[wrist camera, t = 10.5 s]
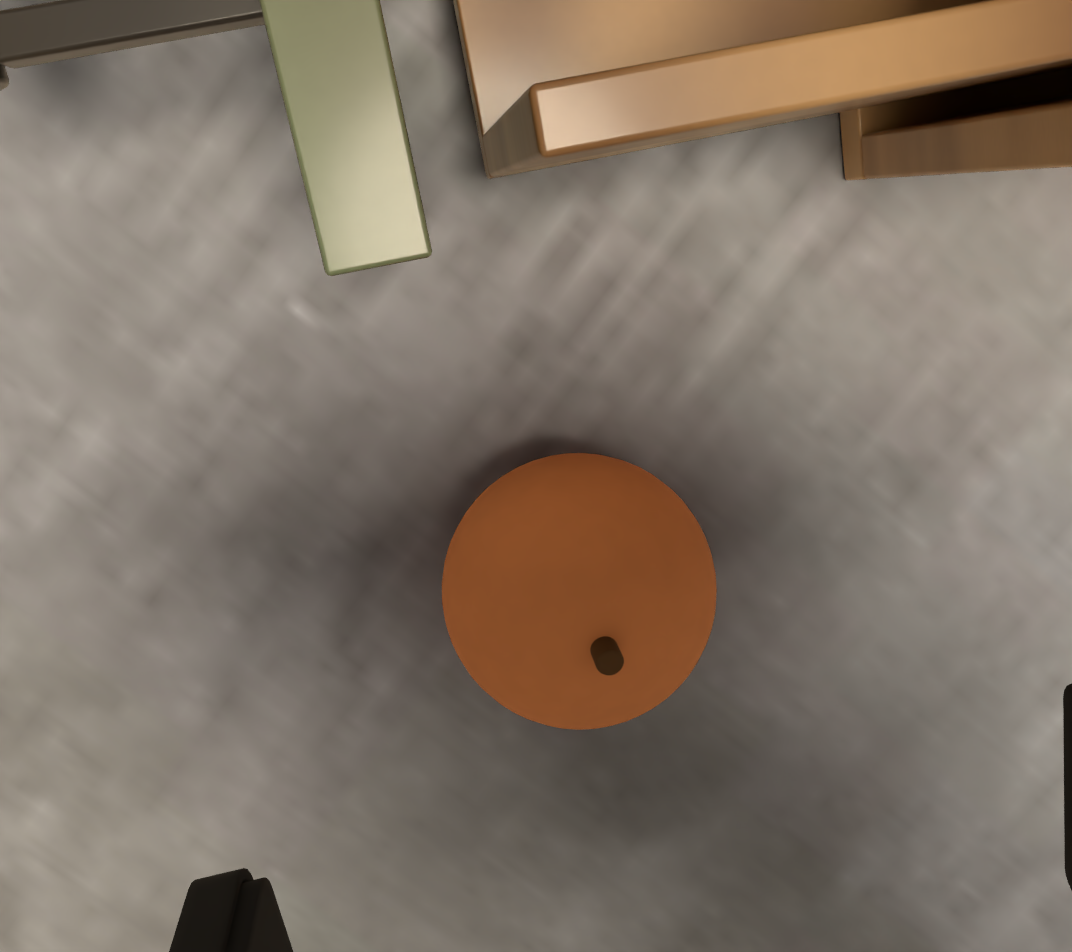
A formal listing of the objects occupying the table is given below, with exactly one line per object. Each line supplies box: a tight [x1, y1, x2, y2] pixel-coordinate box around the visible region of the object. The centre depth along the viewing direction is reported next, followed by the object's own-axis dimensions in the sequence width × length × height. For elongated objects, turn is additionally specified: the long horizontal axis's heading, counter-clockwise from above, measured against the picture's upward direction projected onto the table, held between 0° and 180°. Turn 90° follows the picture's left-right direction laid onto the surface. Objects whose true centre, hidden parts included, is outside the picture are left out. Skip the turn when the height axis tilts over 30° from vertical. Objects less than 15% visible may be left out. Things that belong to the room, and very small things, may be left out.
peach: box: [442, 453, 717, 730], centre depth 19 cm, size 6×6×6 cm
